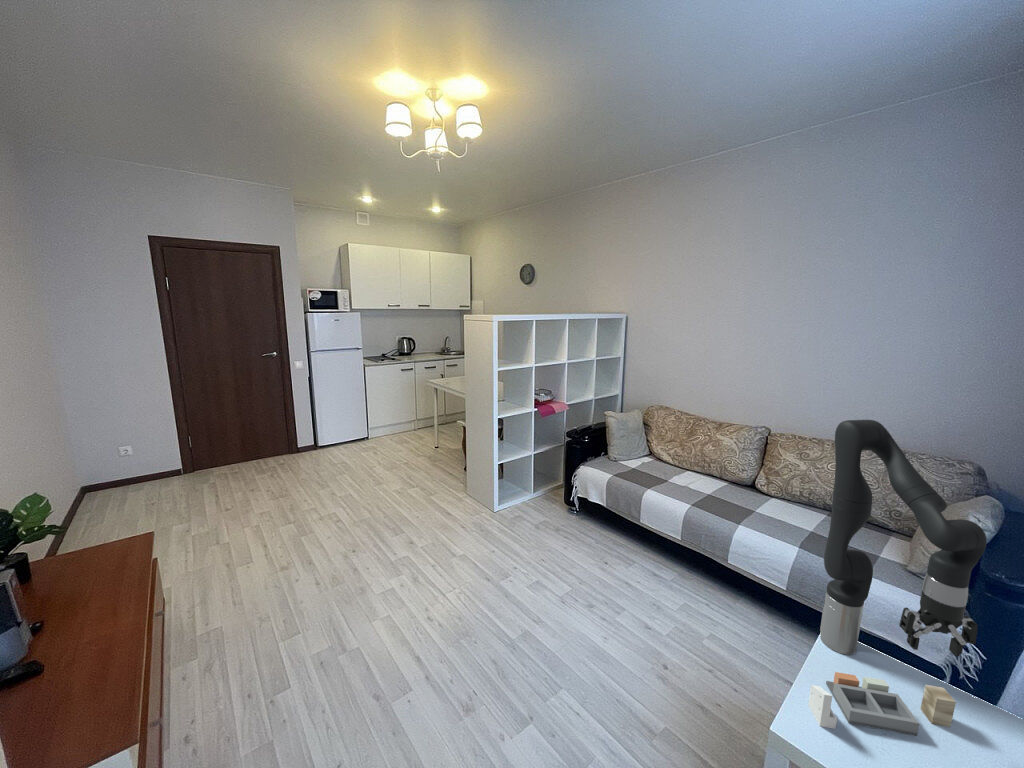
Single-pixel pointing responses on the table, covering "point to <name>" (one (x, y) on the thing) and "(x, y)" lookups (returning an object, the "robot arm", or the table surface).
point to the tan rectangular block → (938, 705)
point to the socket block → (872, 704)
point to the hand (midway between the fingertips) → (932, 650)
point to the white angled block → (822, 707)
